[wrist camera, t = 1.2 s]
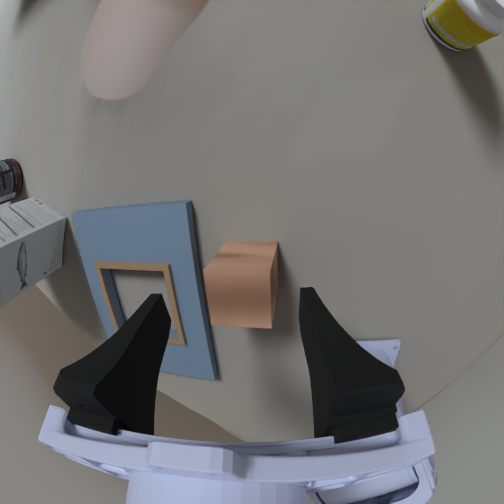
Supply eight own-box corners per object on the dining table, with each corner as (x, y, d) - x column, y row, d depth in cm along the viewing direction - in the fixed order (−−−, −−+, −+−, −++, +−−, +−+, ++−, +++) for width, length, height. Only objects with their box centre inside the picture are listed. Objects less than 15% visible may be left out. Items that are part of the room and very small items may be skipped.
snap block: (279, 288, 25) (271, 328, 19) (230, 287, 26) (211, 324, 20) (277, 241, 23) (269, 271, 18) (225, 241, 24) (203, 270, 19)
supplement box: (64, 267, 29) (-6, 316, 18) (32, 242, 29) (-35, 279, 18) (69, 216, 26) (-17, 257, 15) (35, 193, 26) (-42, 223, 15)
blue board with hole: (217, 373, 30) (214, 382, 29) (121, 355, 33) (115, 363, 31) (191, 200, 23) (183, 204, 22) (78, 210, 26) (69, 214, 24)
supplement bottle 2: (471, 61, 14) (534, 38, 5) (422, 39, 14) (476, -3, 5) (465, 18, 11) (517, -14, 2) (418, -4, 12) (459, -52, 3)
